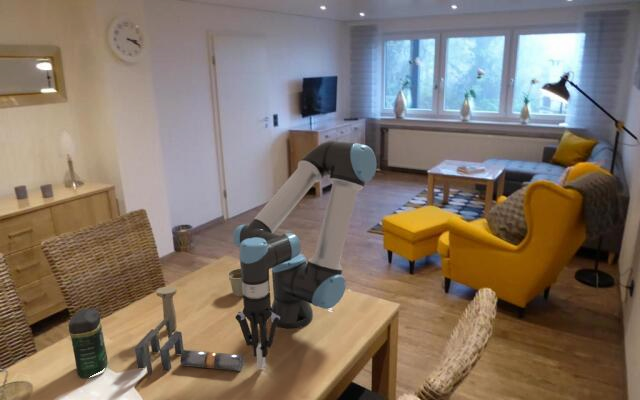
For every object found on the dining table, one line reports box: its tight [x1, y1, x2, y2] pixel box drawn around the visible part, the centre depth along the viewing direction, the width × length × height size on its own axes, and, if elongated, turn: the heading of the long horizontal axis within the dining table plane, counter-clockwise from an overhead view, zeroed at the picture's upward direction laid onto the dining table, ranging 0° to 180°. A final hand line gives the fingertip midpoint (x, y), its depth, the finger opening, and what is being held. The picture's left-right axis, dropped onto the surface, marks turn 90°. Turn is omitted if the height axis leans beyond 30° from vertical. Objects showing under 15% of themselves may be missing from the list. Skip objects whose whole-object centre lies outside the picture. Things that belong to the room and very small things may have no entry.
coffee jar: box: [67, 307, 109, 379], centre depth 131 cm, size 10×8×19 cm
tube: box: [179, 349, 245, 372], centre depth 133 cm, size 18×4×4 cm, turn 80°
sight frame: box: [143, 316, 175, 376], centre depth 135 cm, size 1×14×11 cm, turn 170°
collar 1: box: [134, 328, 161, 369], centre depth 137 cm, size 2×10×7 cm, turn 170°
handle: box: [155, 286, 178, 332], centre depth 151 cm, size 5×6×15 cm
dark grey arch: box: [159, 330, 185, 372], centre depth 135 cm, size 2×10×7 cm, turn 170°
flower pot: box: [226, 267, 243, 298], centre depth 175 cm, size 9×9×9 cm
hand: (261, 365), depth 131 cm, fingers closed
